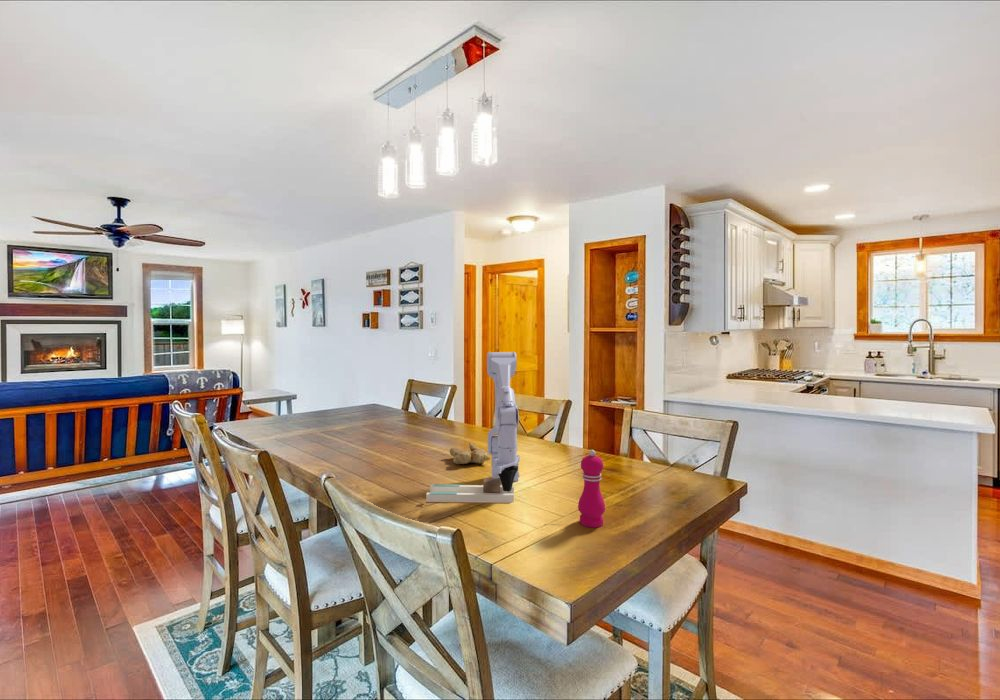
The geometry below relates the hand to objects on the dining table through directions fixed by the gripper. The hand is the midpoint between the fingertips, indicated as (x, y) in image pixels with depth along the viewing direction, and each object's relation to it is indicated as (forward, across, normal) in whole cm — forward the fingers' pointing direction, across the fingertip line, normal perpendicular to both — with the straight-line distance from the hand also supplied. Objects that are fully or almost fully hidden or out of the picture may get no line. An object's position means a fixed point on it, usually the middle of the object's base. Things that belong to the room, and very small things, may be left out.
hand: (507, 490), depth 153 cm
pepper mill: (+3, +6, +28) cm, 29 cm away
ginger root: (+3, -31, -30) cm, 43 cm away
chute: (+3, +4, -10) cm, 11 cm away
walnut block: (+2, +2, -4) cm, 5 cm away
